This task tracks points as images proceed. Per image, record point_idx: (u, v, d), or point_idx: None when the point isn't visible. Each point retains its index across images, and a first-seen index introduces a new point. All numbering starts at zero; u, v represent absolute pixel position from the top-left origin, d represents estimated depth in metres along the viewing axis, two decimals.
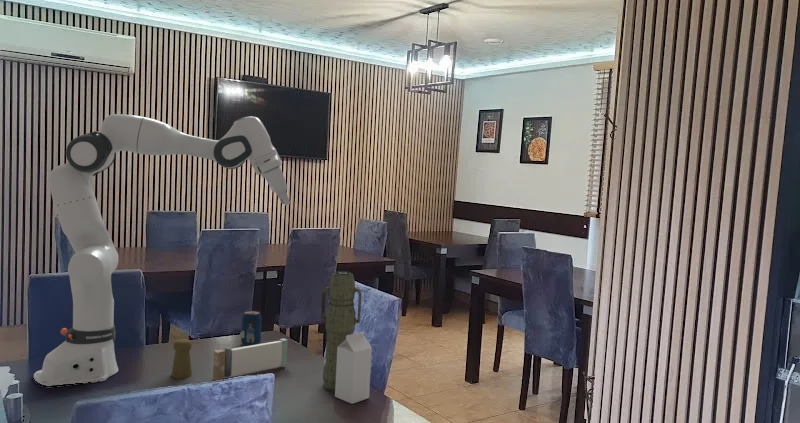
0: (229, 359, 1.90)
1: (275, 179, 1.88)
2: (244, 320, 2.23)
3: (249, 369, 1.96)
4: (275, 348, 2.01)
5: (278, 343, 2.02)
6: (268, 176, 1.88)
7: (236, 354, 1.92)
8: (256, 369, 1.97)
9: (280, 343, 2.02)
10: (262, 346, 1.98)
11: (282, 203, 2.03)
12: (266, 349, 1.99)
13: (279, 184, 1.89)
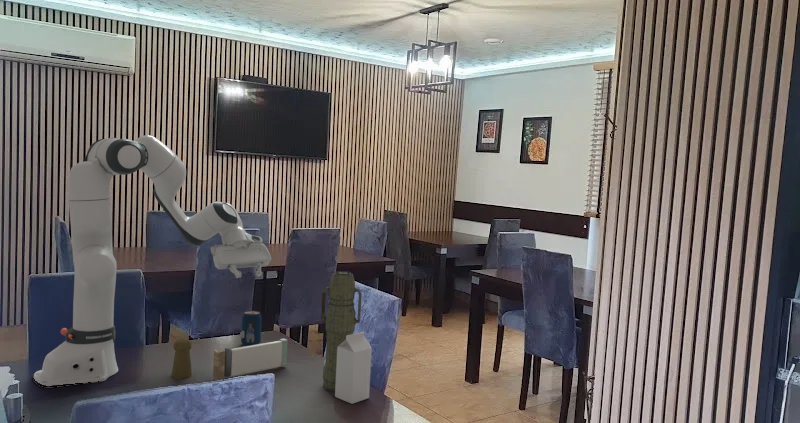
0: (229, 359, 1.90)
1: None
2: (244, 320, 2.23)
3: (249, 369, 1.96)
4: (275, 348, 2.01)
5: (278, 343, 2.02)
6: None
7: (236, 354, 1.92)
8: (256, 369, 1.97)
9: (280, 343, 2.02)
10: (262, 346, 1.98)
11: (241, 274, 2.10)
12: (266, 349, 1.99)
13: None
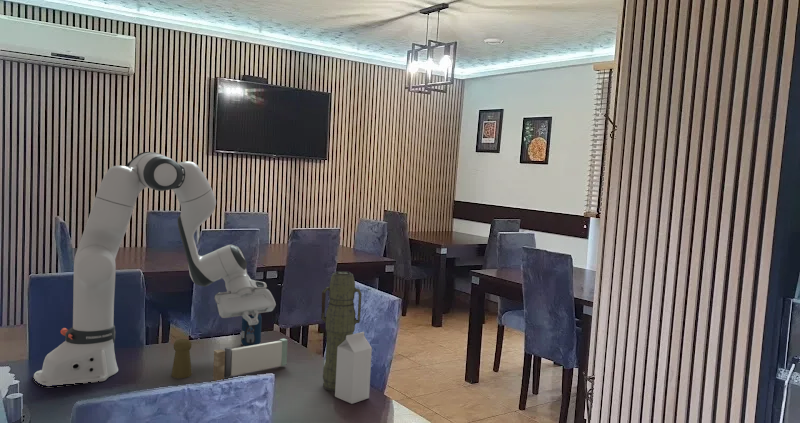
0: (229, 359, 1.90)
1: None
2: (244, 320, 2.23)
3: (249, 369, 1.96)
4: (275, 348, 2.01)
5: (278, 343, 2.02)
6: None
7: (236, 354, 1.92)
8: (256, 369, 1.97)
9: (280, 343, 2.02)
10: (262, 346, 1.98)
11: (254, 321, 2.11)
12: (266, 349, 1.99)
13: None
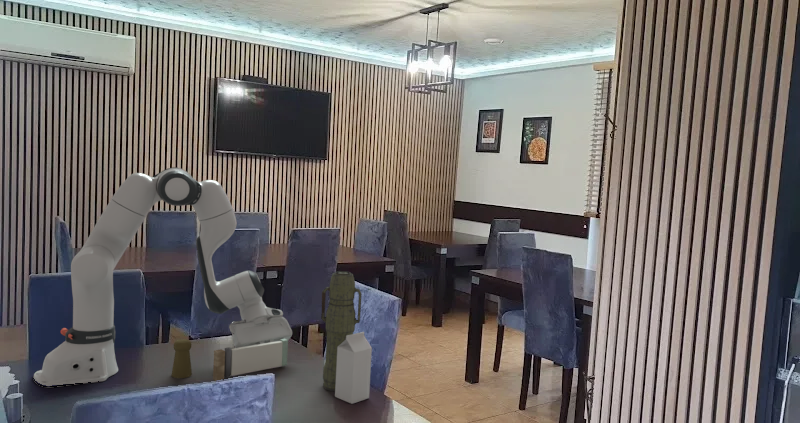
0: (229, 359, 1.90)
1: None
2: None
3: (250, 369, 1.95)
4: (276, 348, 2.01)
5: (278, 343, 2.02)
6: None
7: (236, 354, 1.92)
8: (256, 369, 1.97)
9: (280, 343, 2.02)
10: (262, 346, 1.98)
11: None
12: (266, 349, 1.99)
13: None
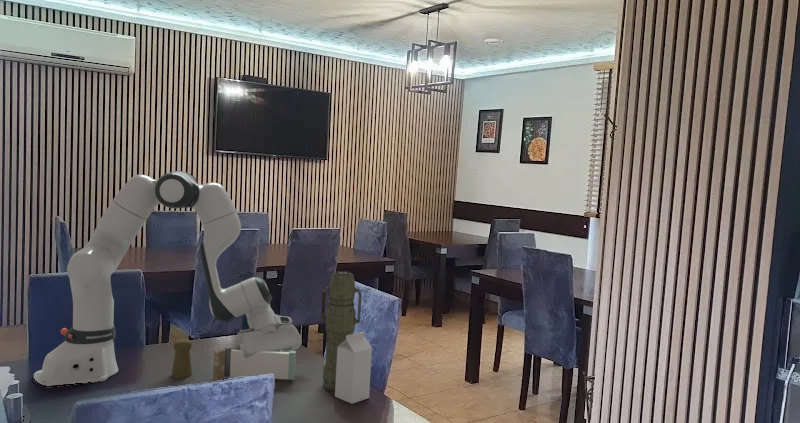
0: (227, 359, 1.90)
1: None
2: (244, 320, 2.23)
3: (250, 374, 1.91)
4: (281, 359, 1.91)
5: (284, 354, 1.91)
6: None
7: (235, 356, 1.90)
8: None
9: (286, 355, 1.91)
10: (265, 354, 1.90)
11: None
12: (269, 358, 1.91)
13: None
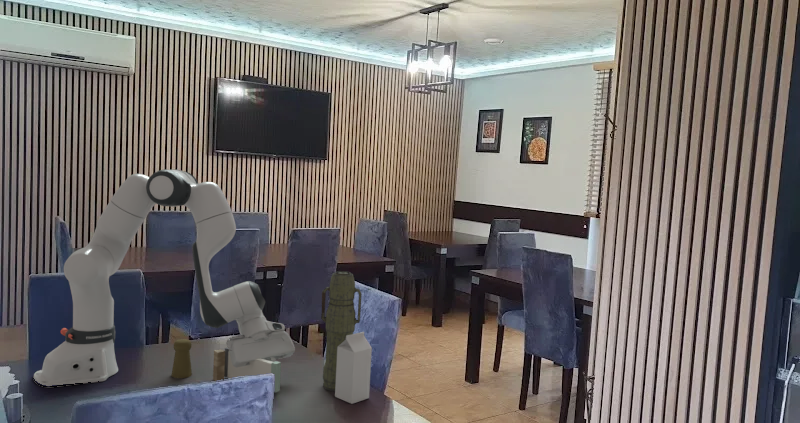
0: (225, 359, 1.90)
1: None
2: None
3: None
4: (265, 368, 1.82)
5: (268, 364, 1.81)
6: None
7: None
8: None
9: (270, 364, 1.81)
10: None
11: None
12: (257, 365, 1.83)
13: None
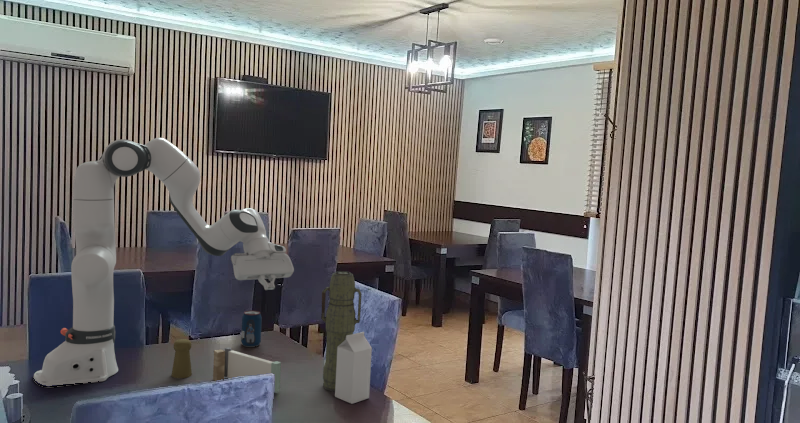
0: (225, 359, 1.90)
1: None
2: (244, 320, 2.23)
3: None
4: (265, 368, 1.82)
5: (268, 364, 1.81)
6: None
7: (231, 357, 1.89)
8: None
9: (270, 364, 1.81)
10: (253, 360, 1.84)
11: (270, 286, 2.01)
12: (257, 365, 1.83)
13: None
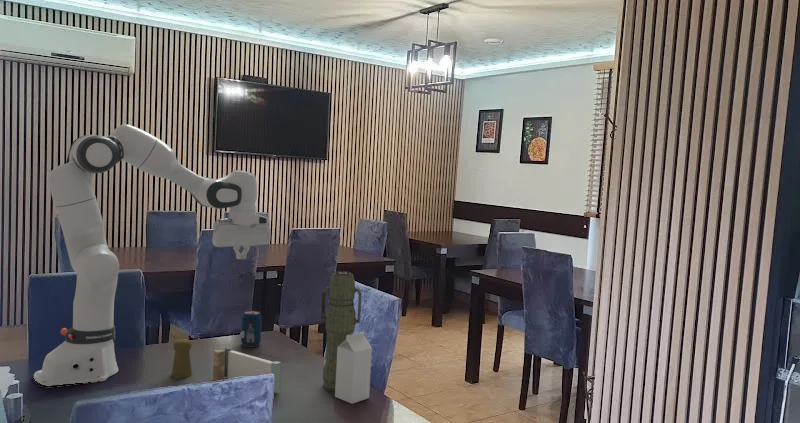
0: (225, 359, 1.90)
1: None
2: (244, 320, 2.23)
3: None
4: (265, 368, 1.82)
5: (268, 364, 1.81)
6: None
7: (231, 357, 1.89)
8: None
9: (270, 364, 1.81)
10: (253, 360, 1.84)
11: (242, 257, 2.12)
12: (257, 365, 1.83)
13: None
